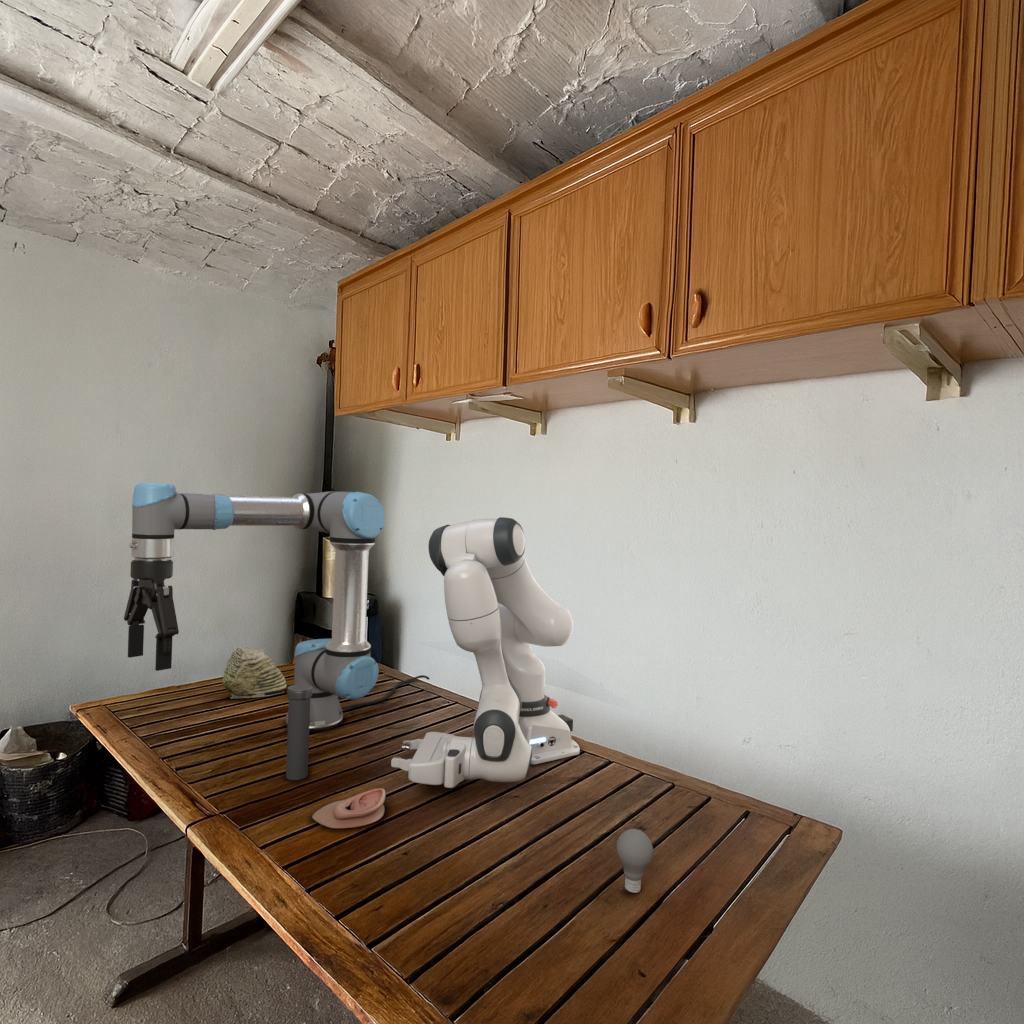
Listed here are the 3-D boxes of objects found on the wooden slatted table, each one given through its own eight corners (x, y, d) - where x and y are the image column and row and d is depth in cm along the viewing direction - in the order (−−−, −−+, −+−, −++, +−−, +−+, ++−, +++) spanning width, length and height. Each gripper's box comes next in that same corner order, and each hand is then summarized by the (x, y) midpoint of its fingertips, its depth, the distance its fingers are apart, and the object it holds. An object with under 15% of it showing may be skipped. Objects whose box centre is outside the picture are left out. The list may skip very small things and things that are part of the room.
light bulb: (610, 879, 108) (613, 822, 108) (644, 879, 109) (647, 822, 109) (619, 902, 102) (622, 840, 102) (655, 901, 103) (658, 840, 103)
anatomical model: (304, 803, 122) (333, 778, 133) (303, 824, 122) (332, 797, 133) (368, 813, 119) (392, 787, 131) (368, 834, 119) (391, 806, 131)
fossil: (218, 695, 195) (220, 647, 195) (278, 685, 208) (279, 640, 207) (228, 703, 189) (230, 653, 188) (289, 692, 201) (290, 645, 201)
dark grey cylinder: (281, 776, 143) (284, 689, 142) (299, 769, 146) (302, 684, 146) (294, 782, 140) (297, 693, 140) (311, 775, 144) (315, 689, 143)
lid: (282, 696, 142) (282, 687, 142) (302, 691, 147) (302, 682, 147) (296, 701, 139) (297, 692, 139) (317, 696, 143) (317, 687, 143)
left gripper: (108, 554, 134) (105, 654, 134) (159, 565, 118) (155, 678, 119) (146, 552, 140) (143, 648, 140) (199, 563, 124) (196, 671, 124)
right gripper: (465, 727, 151) (408, 723, 152) (452, 761, 131) (386, 756, 132) (464, 753, 151) (407, 749, 152) (450, 792, 131) (384, 786, 132)
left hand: (148, 662), depth 129 cm, fingers open, 13 cm apart
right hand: (397, 753), depth 142 cm, fingers open, 8 cm apart
